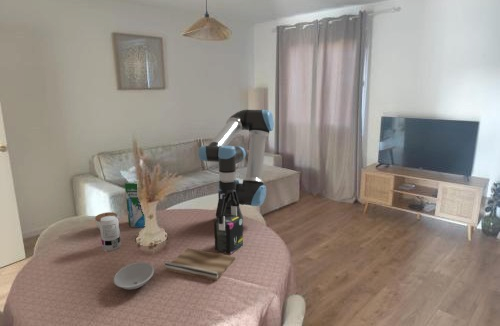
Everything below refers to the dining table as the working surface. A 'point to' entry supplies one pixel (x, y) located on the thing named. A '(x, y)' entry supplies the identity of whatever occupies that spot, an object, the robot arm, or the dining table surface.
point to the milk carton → (134, 206)
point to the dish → (133, 275)
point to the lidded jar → (102, 217)
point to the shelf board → (200, 264)
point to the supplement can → (110, 233)
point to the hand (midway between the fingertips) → (228, 224)
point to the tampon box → (229, 234)
